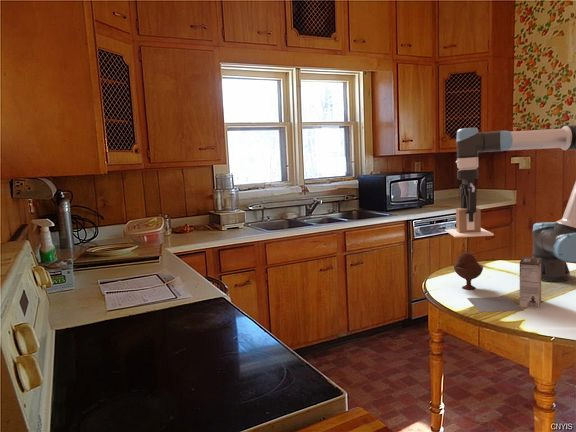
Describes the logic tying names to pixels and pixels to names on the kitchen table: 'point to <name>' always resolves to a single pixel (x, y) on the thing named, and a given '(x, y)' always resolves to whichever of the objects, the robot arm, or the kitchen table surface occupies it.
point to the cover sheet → (483, 233)
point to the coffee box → (530, 282)
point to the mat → (494, 304)
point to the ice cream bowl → (468, 269)
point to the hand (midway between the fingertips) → (468, 228)
